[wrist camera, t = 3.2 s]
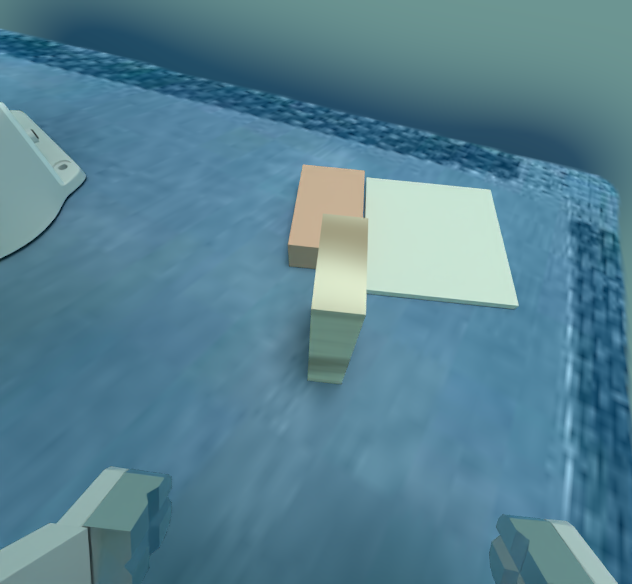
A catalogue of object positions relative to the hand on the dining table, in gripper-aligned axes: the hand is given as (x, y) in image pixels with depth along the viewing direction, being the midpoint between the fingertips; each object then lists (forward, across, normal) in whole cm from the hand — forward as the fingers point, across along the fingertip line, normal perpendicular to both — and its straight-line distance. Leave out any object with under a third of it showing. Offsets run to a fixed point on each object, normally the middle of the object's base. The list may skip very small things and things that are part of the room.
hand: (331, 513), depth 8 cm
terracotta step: (+26, +1, -6) cm, 27 cm away
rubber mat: (+26, -9, -6) cm, 28 cm away
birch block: (+18, 0, +3) cm, 18 cm away
